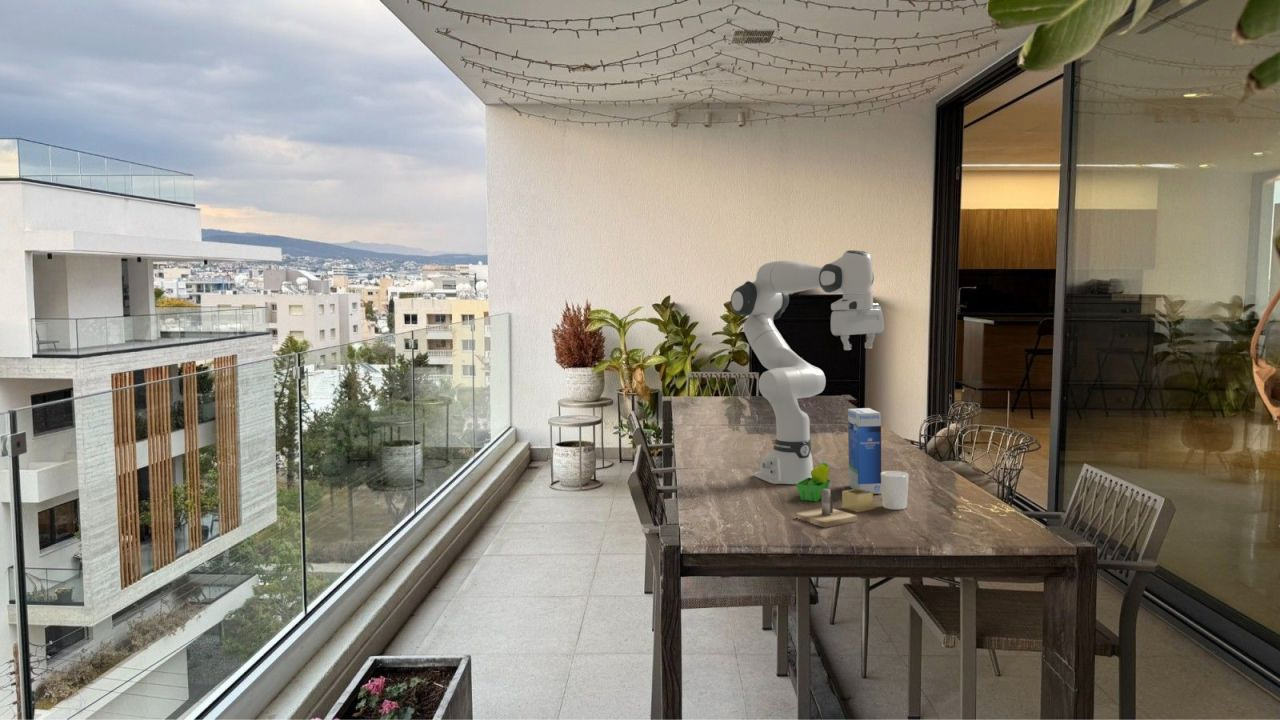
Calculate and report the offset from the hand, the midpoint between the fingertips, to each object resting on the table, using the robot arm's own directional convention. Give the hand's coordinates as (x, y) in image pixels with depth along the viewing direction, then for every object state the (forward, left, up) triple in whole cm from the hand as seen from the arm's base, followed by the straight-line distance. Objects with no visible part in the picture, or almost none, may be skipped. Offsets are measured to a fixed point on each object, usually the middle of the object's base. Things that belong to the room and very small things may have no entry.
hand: (858, 349), depth 255 cm
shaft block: (+13, -25, -46) cm, 54 cm away
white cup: (+14, +1, -46) cm, 48 cm away
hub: (+9, -9, -46) cm, 48 cm away
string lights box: (-7, +10, -46) cm, 48 cm away
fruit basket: (-8, -10, -46) cm, 48 cm away
